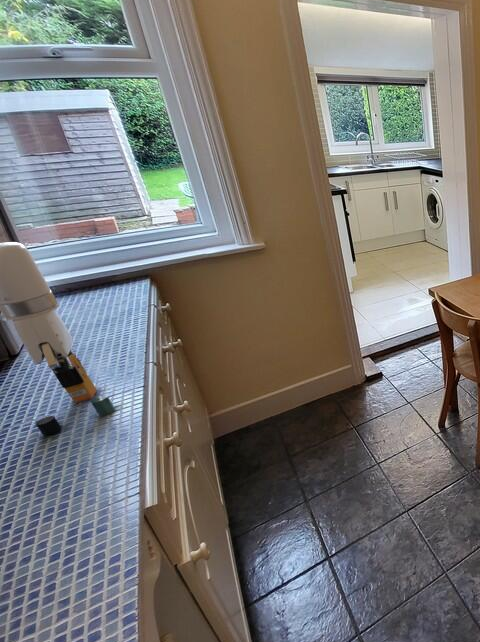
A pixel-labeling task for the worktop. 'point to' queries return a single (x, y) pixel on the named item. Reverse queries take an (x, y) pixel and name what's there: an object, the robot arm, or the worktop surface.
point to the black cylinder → (48, 426)
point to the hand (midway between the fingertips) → (75, 380)
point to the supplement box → (80, 390)
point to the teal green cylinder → (102, 405)
